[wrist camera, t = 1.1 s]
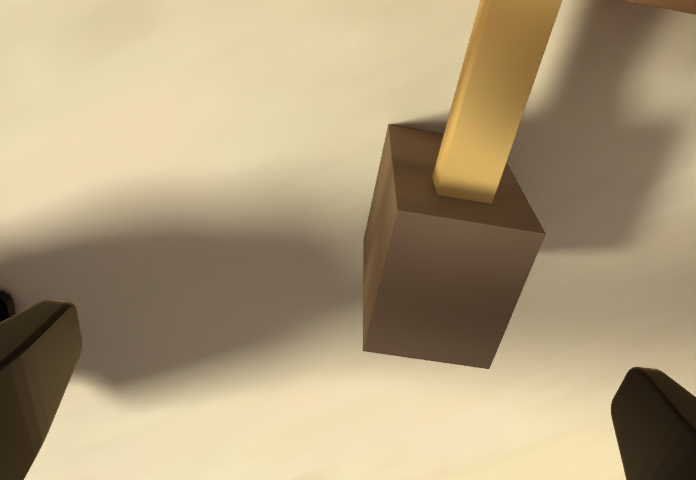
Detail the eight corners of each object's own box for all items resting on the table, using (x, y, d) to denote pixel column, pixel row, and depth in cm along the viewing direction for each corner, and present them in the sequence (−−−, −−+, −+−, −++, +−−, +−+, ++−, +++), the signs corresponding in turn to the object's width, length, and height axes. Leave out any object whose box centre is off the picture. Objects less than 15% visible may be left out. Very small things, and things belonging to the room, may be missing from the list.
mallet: (458, 255, 23) (489, 369, 17) (363, 240, 22) (362, 351, 17) (579, -115, 16) (695, -125, 10) (445, -142, 16) (489, -167, 10)
